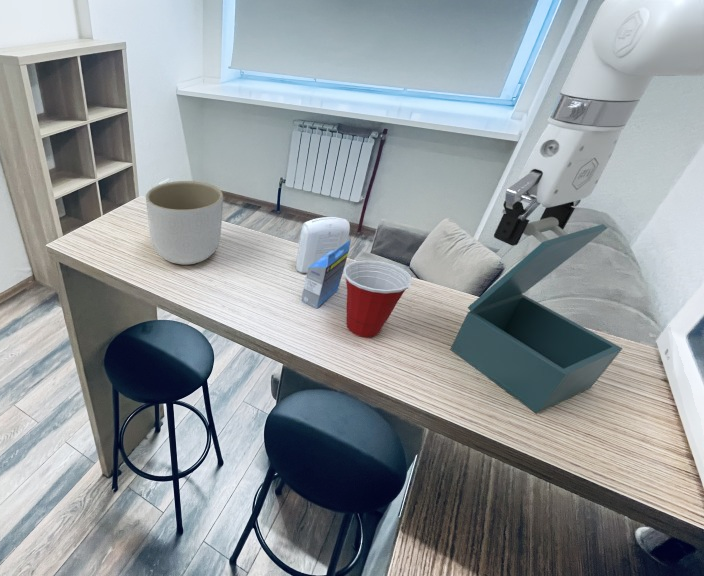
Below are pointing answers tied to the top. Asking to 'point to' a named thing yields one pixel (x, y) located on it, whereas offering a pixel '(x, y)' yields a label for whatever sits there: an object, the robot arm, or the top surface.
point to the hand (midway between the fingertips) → (527, 234)
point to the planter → (185, 220)
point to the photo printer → (320, 239)
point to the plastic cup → (372, 294)
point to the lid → (538, 260)
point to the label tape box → (325, 276)
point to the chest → (533, 351)
